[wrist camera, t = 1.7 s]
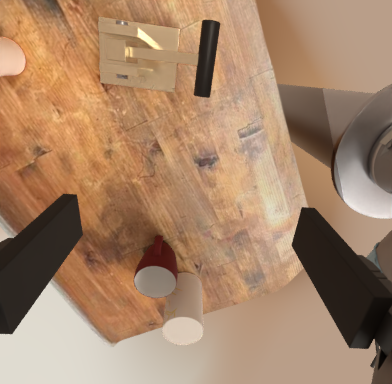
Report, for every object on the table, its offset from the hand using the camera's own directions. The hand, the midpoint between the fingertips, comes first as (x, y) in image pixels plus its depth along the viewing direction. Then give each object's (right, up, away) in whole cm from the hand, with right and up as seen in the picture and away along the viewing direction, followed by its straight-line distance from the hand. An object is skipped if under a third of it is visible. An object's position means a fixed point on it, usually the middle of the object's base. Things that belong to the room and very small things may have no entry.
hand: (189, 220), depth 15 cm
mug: (-7, -10, +41) cm, 43 cm away
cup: (-2, -21, +46) cm, 50 cm away
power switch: (-8, +23, +25) cm, 35 cm away
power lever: (-3, +17, +14) cm, 23 cm away
